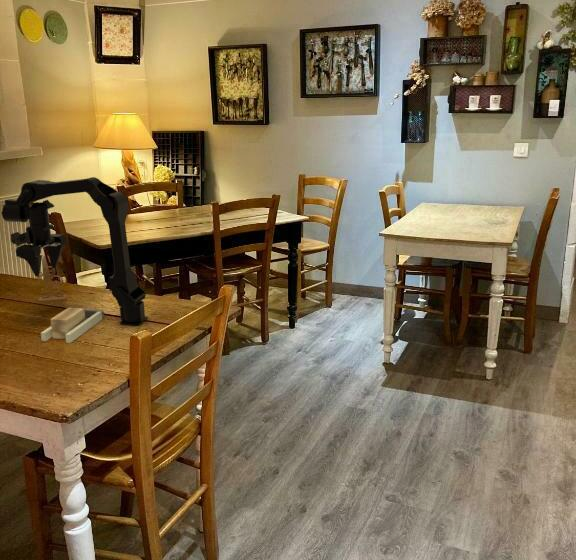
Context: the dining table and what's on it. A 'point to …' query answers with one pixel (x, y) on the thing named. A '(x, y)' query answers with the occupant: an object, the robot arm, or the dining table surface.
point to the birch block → (66, 322)
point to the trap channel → (90, 320)
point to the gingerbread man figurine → (47, 297)
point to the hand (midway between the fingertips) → (45, 272)
